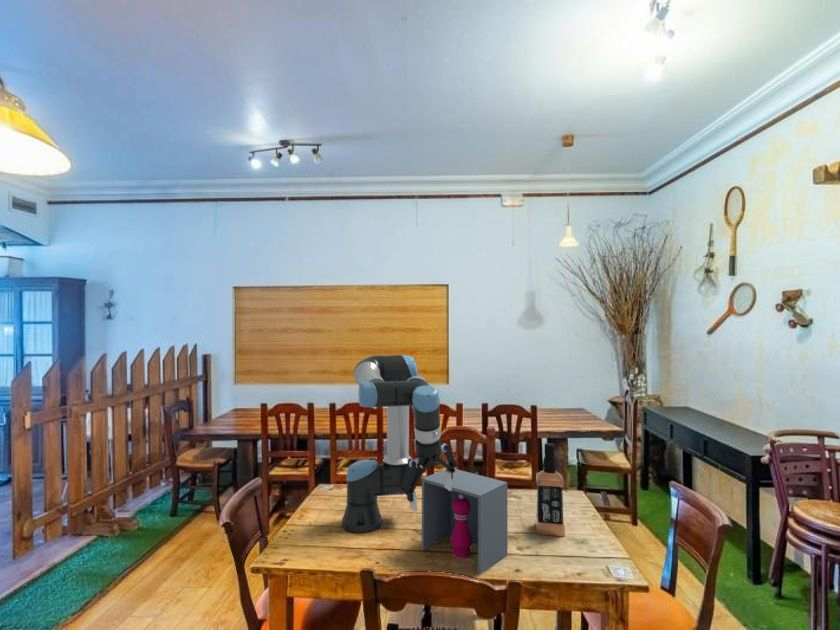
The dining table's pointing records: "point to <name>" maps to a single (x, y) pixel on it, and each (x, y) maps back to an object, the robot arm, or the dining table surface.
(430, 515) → the cubby
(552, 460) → the whiskey bottle
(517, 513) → the dining table surface
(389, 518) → the dining table surface
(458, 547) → the pepper mill
